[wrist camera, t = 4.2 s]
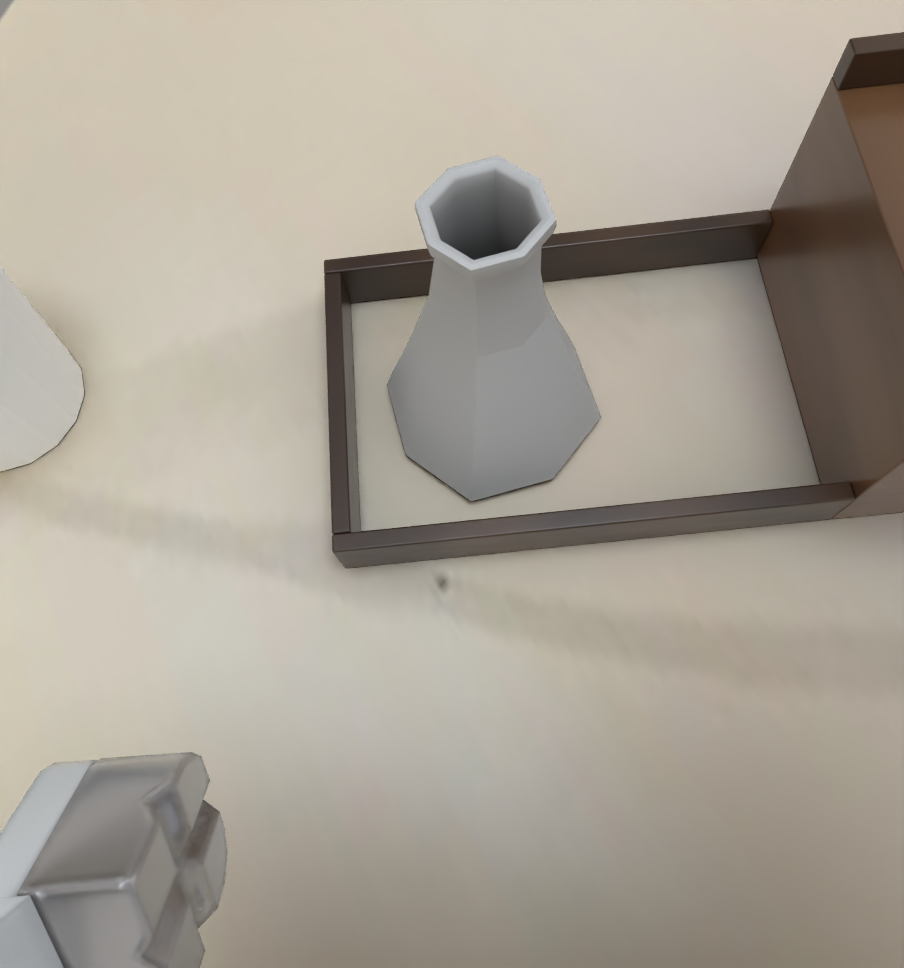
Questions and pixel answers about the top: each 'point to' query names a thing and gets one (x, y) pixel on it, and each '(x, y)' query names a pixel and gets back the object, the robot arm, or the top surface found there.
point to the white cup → (32, 381)
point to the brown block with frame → (796, 308)
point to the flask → (489, 340)
